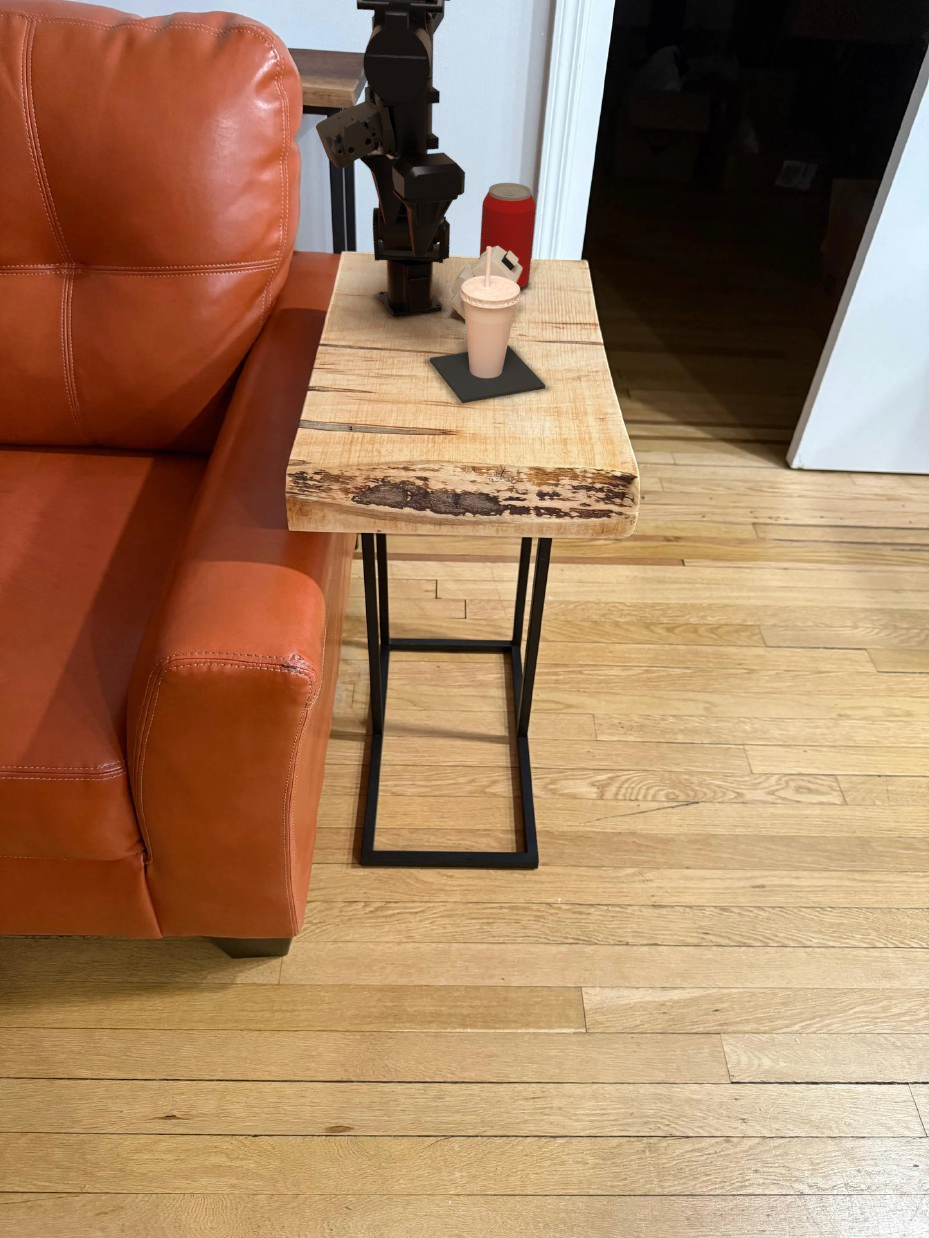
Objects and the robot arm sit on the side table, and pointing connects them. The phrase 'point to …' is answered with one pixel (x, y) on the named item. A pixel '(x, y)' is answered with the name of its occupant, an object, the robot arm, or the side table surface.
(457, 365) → the coaster
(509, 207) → the beverage can
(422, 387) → the side table surface
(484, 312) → the smoothie
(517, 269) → the tape dispenser
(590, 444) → the side table surface
